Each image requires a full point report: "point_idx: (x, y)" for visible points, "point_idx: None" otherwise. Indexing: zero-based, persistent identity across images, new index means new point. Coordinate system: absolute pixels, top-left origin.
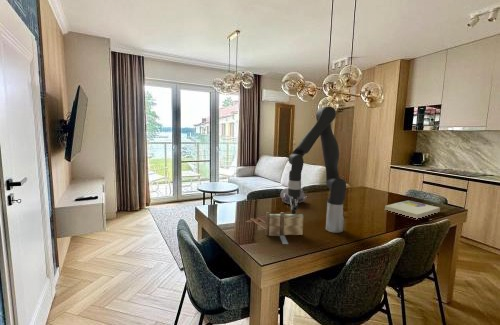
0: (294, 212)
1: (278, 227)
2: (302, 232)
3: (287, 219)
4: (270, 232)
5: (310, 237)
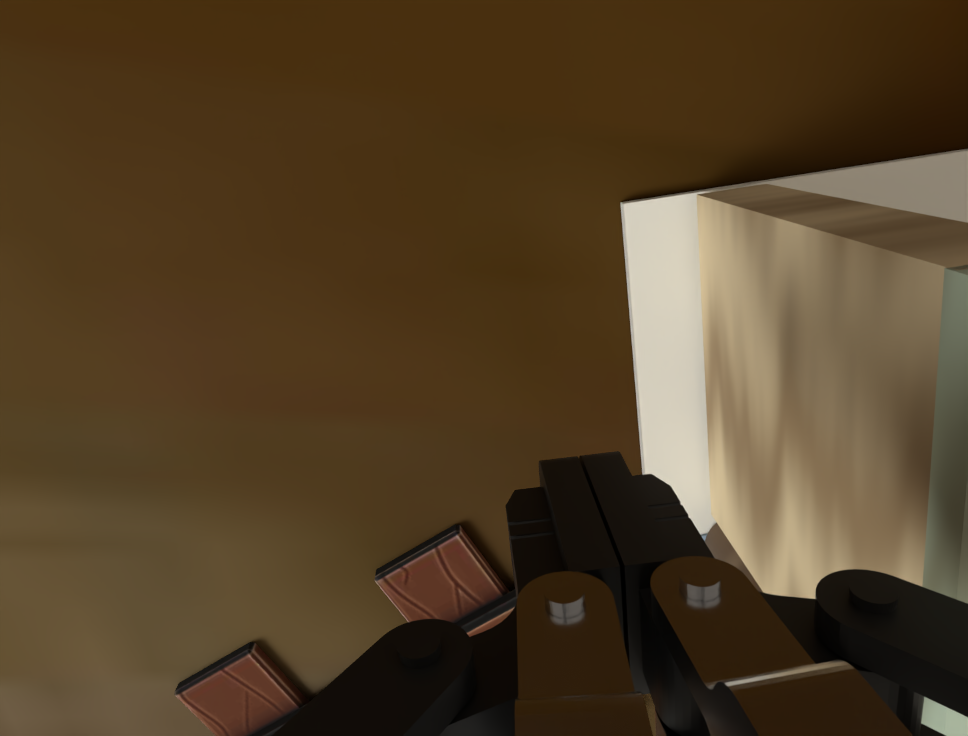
0: (698, 554)
1: None
2: (786, 189)
3: None
4: None
5: (813, 15)
